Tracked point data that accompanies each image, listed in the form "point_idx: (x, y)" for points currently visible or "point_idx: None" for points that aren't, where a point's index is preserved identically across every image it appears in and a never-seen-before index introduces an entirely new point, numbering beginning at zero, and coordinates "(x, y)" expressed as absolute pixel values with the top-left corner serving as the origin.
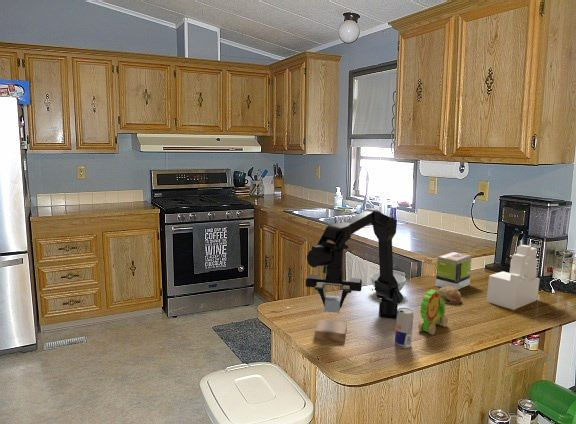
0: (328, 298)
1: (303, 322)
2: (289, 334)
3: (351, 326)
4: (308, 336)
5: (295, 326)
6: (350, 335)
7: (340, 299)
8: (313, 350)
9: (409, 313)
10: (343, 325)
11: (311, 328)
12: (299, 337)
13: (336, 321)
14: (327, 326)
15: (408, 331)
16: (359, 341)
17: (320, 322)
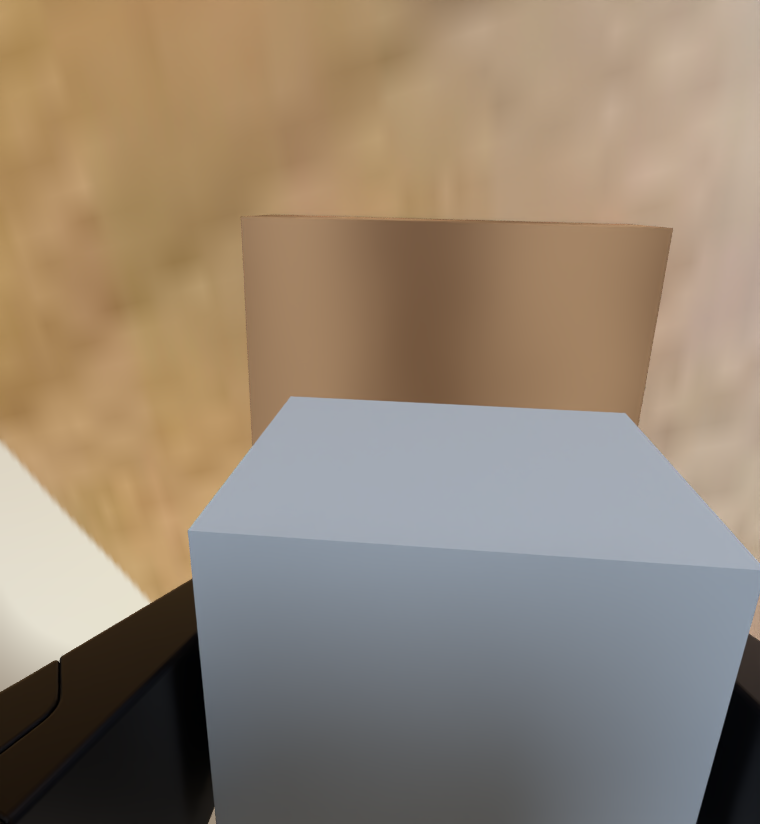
0: (301, 779)
1: (58, 90)
2: (26, 466)
3: (720, 53)
4: (211, 475)
5: (10, 250)
6: (666, 362)
7: (703, 715)
8: None
9: None
10: (606, 359)
11: (197, 264)
12: (135, 512)
13: (506, 232)
14: None
15: None
16: (749, 493)
17: (280, 324)
